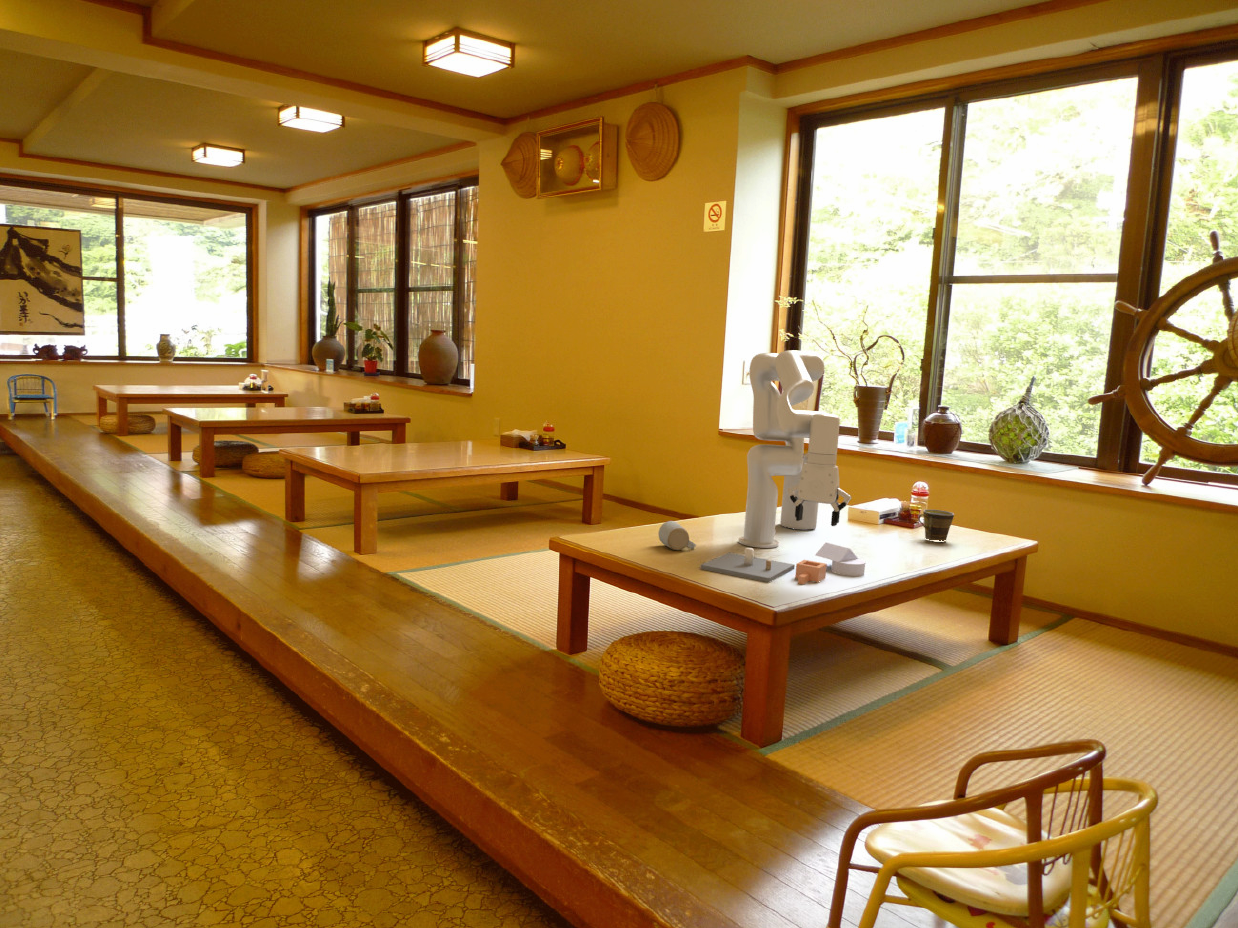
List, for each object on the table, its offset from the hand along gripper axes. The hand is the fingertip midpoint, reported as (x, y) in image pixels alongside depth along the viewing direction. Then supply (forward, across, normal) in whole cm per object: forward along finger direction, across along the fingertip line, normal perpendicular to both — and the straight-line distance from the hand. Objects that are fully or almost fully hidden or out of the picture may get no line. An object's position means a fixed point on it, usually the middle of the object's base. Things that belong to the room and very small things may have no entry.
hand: (816, 522), depth 236 cm
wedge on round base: (+16, +4, +16) cm, 23 cm away
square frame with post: (+15, -1, -2) cm, 16 cm away
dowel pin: (+14, -11, -4) cm, 18 cm away
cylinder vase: (+14, -28, +68) cm, 75 cm away
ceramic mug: (+15, -44, +6) cm, 47 cm away
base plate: (+15, -18, -2) cm, 23 cm away
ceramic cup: (+15, +16, +82) cm, 85 cm away
